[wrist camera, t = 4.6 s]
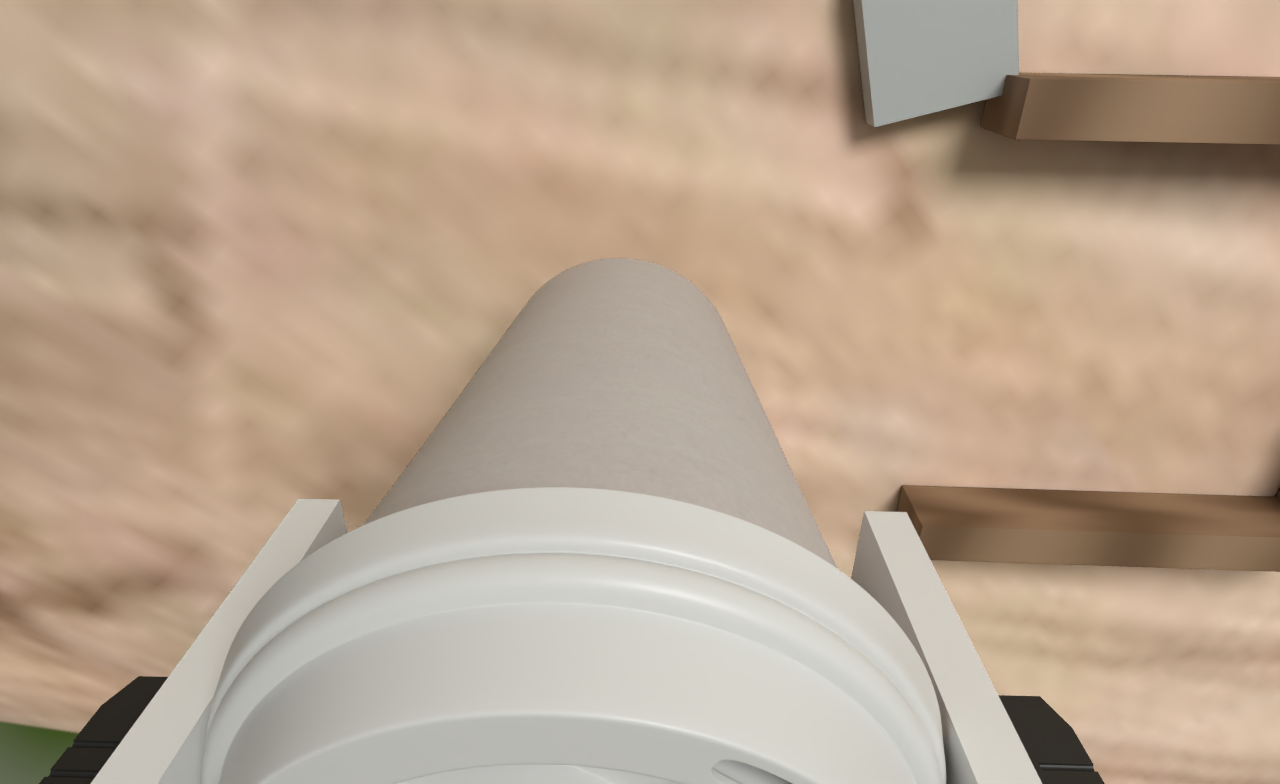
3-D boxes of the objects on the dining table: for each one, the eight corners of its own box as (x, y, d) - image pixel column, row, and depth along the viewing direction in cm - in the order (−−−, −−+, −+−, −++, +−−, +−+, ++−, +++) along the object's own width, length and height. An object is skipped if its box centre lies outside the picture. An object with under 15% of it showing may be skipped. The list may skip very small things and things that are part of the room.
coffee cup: (840, 410, 22) (1128, 1033, 9) (579, 541, 24) (488, 1178, 11) (676, 127, 18) (732, 447, 5) (389, 316, 21) (-89, 866, 7)
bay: (895, 516, 28) (914, 559, 26) (992, 72, 21) (1030, 78, 19) (1299, 530, 28) (1353, 574, 26) (1542, 81, 21) (1647, 89, 18)
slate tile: (866, 122, 22) (874, 127, 21) (850, -26, 20) (858, -28, 19) (1004, 88, 21) (1019, 91, 20) (1000, -68, 19) (1016, -73, 19)
